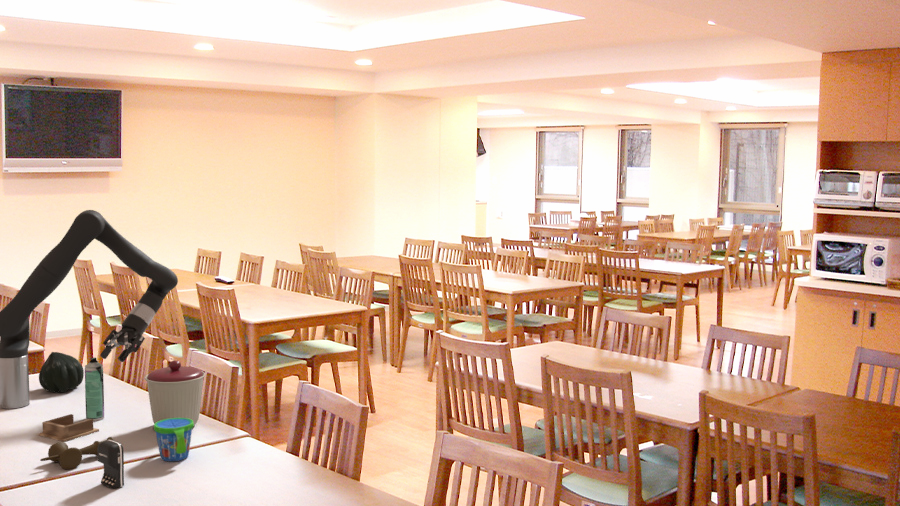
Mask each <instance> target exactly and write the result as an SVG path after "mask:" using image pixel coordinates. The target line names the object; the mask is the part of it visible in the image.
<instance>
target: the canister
mask: <svg viewBox="0 0 900 506" xmlns="http://www.w3.org/2000/svg"><path fill="white" fill-rule="evenodd" d="M205 376H206V372H204V371H203V370H201V369H199V368H197V367H194V366H186V365H184V366H183V365H182V364H181V361H179V360H172V361H170V363H168V366H166V367H161V368H157V369H154V370H152V371H150V372H149V373H147V374H146V375H144V380H145V382H146V383H147V392H148V399H149V405H150V411H151V417H152V422H153V425H154V424H155V423H156V422H158V421H160V420H164V419H169V418H188V419H191V420H193V424H194V426H196V425H197V423H198V420H199V419H200V418H199V417H200V414H201V413H200V412H201V405H202V395H203V385H204V384H203V383H204V378H205Z"/></svg>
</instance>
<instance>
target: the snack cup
mask: <svg viewBox="0 0 900 506" xmlns="http://www.w3.org/2000/svg"><path fill="white" fill-rule="evenodd" d="M194 427H195V425H194V424H193V420H191V419H188V418H169V419H164V420H160V421H158V422H156V423H155V424H154V423H153V430H154V432H155V435H156V442H157V445H158V451H159V457H160V459H161V460H163V461H164V462H180V461H183V460H184V459H186V458H188V457H189V454H190V446H191V441H192V433H193V428H194Z"/></svg>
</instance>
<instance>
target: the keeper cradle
mask: <svg viewBox="0 0 900 506" xmlns="http://www.w3.org/2000/svg"><path fill="white" fill-rule="evenodd" d="M41 426H42V431H41V432H39V433H38V436H41V437H43V436H44V438H48V439H52V440H54V441H55V440H56V441H59V440H60V441H59V442H64V443H66V442H69V441H72V440H74V439H75V438H76V439H79V438H82V437H84V436H87V435H91V433H92V434H95V433H98V432H99V431H100V429H99V428H95V427H94V421H93V419H88V420H86V419H85V420H82V421H77V422H75V423H74V414H73V413H72V414H71V413H70V414H65V415H63V416H60V417H59V416H58V417H57V418H53V419H50V420H46V421H42V425H41ZM97 431H98V432H97ZM94 432H95V433H94ZM81 436H82V437H81ZM78 437H79V438H78Z"/></svg>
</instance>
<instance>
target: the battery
mask: <svg viewBox="0 0 900 506" xmlns="http://www.w3.org/2000/svg"><path fill="white" fill-rule="evenodd" d="M114 440H115V439H114ZM114 440H107V441H104V440H103V441H104V442H101V441H100V442H101V443H100V444H99V445H98V451H97V456H96V457H97V462H98V463H101V464H103V474H102V478H101V481H100V484H101V485H102V486H105V487H107V488H109V489H117V488H122V487H124V486H125V480H124V479H125V475H124V474H125V473H124V472H125V468H124V467H125V466H124V463H125V462H124V461H125V460H124V459H125V458H124V457H125V456H124V454H125V453H124V447H123V444H122V443H121V442H119V441H117V440H115V441H114Z"/></svg>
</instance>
